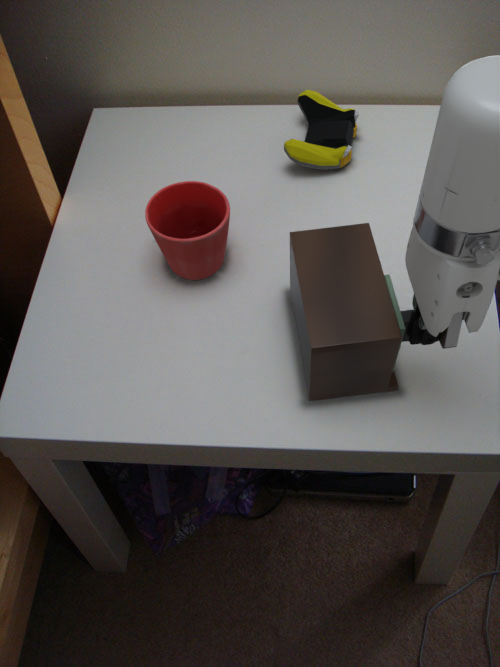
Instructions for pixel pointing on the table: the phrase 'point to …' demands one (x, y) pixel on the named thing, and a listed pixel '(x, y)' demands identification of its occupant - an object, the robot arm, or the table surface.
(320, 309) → the cupboard
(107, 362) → the table surface
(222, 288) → the table surface
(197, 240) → the flower pot
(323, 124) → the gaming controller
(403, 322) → the sliding door
